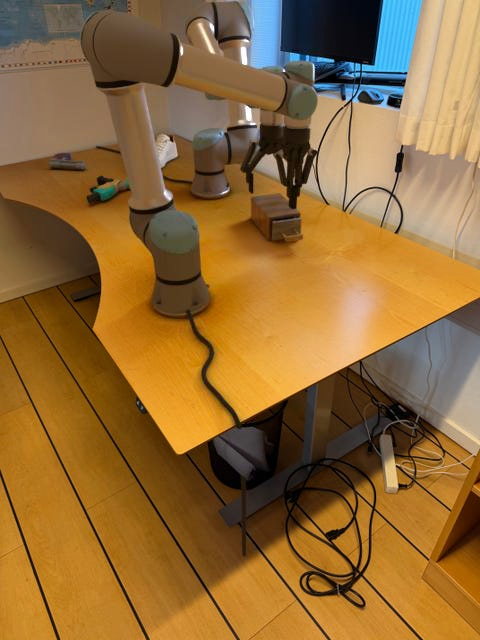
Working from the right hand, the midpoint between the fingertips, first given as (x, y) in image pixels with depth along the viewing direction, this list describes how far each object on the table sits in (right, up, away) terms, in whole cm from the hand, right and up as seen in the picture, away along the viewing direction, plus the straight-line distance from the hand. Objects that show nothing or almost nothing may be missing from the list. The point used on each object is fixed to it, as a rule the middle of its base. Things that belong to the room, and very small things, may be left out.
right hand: (270, 189), depth 159 cm
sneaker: (-48, +28, +58) cm, 80 cm away
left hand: (+6, -10, -16) cm, 19 cm away
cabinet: (+2, -12, +3) cm, 12 cm away
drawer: (+3, -14, -2) cm, 15 cm away
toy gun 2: (-64, +6, +29) cm, 71 cm away
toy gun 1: (-87, +27, +58) cm, 108 cm away
